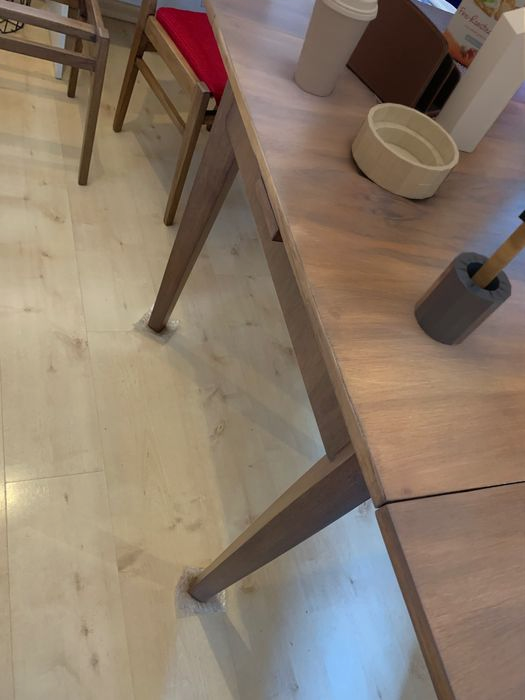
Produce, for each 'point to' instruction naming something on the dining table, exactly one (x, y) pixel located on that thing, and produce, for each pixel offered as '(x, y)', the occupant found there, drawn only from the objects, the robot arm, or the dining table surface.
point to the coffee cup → (331, 42)
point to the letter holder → (406, 58)
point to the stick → (500, 258)
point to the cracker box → (475, 26)
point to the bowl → (404, 151)
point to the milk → (487, 83)
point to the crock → (460, 300)
